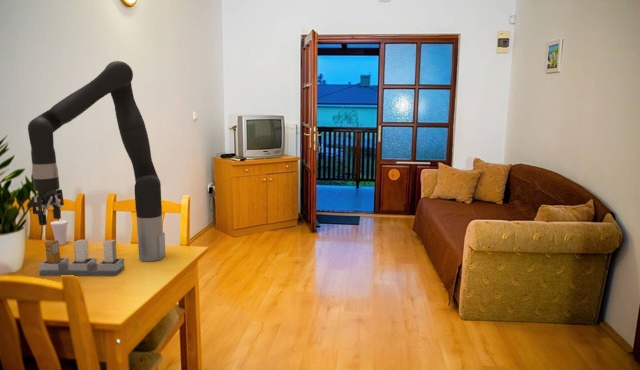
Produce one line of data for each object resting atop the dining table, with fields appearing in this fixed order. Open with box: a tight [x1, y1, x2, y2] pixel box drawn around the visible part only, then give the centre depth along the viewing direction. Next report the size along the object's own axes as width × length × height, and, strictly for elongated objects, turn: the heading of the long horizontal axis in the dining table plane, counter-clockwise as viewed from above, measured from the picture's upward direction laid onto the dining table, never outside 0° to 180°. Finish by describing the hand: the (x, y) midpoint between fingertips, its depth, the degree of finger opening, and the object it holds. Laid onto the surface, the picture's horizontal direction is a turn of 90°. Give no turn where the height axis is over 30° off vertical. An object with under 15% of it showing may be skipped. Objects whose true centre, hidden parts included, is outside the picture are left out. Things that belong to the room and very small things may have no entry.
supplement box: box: [44, 239, 61, 263], centre depth 154 cm, size 3×3×10 cm
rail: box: [38, 239, 125, 277], centre depth 154 cm, size 27×8×12 cm, turn 92°
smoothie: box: [50, 218, 69, 246], centre depth 184 cm, size 6×6×14 cm
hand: (50, 221), depth 152 cm, fingers open, 8 cm apart
